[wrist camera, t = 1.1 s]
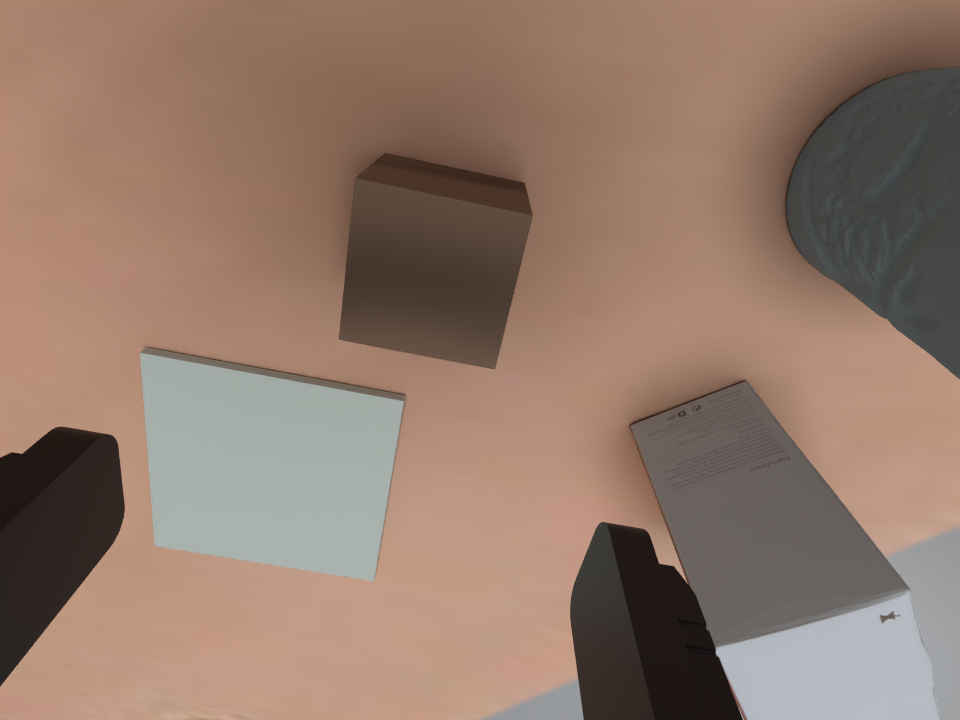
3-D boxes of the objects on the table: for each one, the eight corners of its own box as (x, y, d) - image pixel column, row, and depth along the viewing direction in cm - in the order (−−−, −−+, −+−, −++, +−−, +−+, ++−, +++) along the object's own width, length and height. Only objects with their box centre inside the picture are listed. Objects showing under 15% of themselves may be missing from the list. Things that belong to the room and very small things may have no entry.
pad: (146, 347, 29) (139, 352, 28) (405, 395, 30) (404, 401, 29) (160, 538, 34) (154, 545, 34) (375, 573, 35) (374, 581, 35)
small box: (626, 423, 30) (708, 648, 18) (747, 376, 29) (919, 588, 17) (674, 529, 33) (770, 777, 22) (785, 492, 32) (952, 737, 20)
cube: (385, 152, 24) (355, 178, 19) (524, 182, 25) (532, 215, 19) (369, 285, 27) (338, 339, 22) (494, 309, 27) (494, 369, 22)
